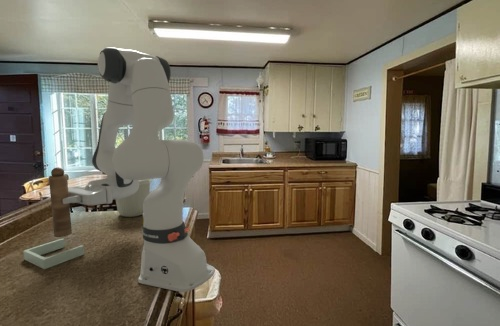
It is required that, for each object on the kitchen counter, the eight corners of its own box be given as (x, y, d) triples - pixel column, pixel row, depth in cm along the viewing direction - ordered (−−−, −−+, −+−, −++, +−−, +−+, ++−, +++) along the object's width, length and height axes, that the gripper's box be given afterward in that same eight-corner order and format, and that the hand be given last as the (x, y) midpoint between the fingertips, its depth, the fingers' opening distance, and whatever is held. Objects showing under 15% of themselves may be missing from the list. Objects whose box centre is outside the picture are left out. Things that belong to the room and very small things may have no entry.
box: (84, 254, 96) (83, 245, 96) (44, 269, 86) (43, 259, 85) (63, 246, 102) (62, 238, 102) (24, 259, 92) (23, 250, 92)
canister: (140, 220, 131) (138, 175, 128) (105, 218, 134) (102, 174, 131) (159, 209, 149) (157, 169, 146) (127, 208, 152) (125, 169, 149)
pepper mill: (74, 233, 97) (69, 167, 94) (59, 238, 92) (52, 168, 90) (67, 230, 99) (61, 166, 97) (51, 235, 95) (44, 167, 92)
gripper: (81, 181, 110) (40, 187, 98) (113, 186, 100) (73, 194, 88) (82, 197, 111) (42, 205, 99) (115, 203, 101) (74, 213, 89)
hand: (57, 200), depth 94 cm, fingers closed on pepper mill, 5 cm apart
